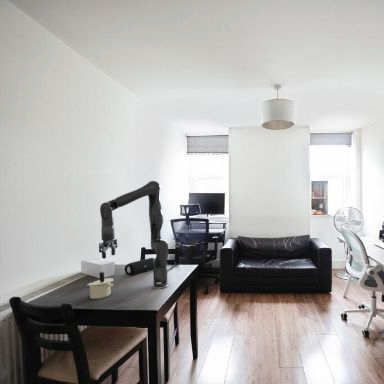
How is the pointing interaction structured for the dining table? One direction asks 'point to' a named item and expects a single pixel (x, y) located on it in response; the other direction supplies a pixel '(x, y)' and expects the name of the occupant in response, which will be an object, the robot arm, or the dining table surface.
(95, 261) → the white box
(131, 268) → the portable speaker
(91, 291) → the pot
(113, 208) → the robot arm
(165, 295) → the dining table surface
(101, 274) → the lid
